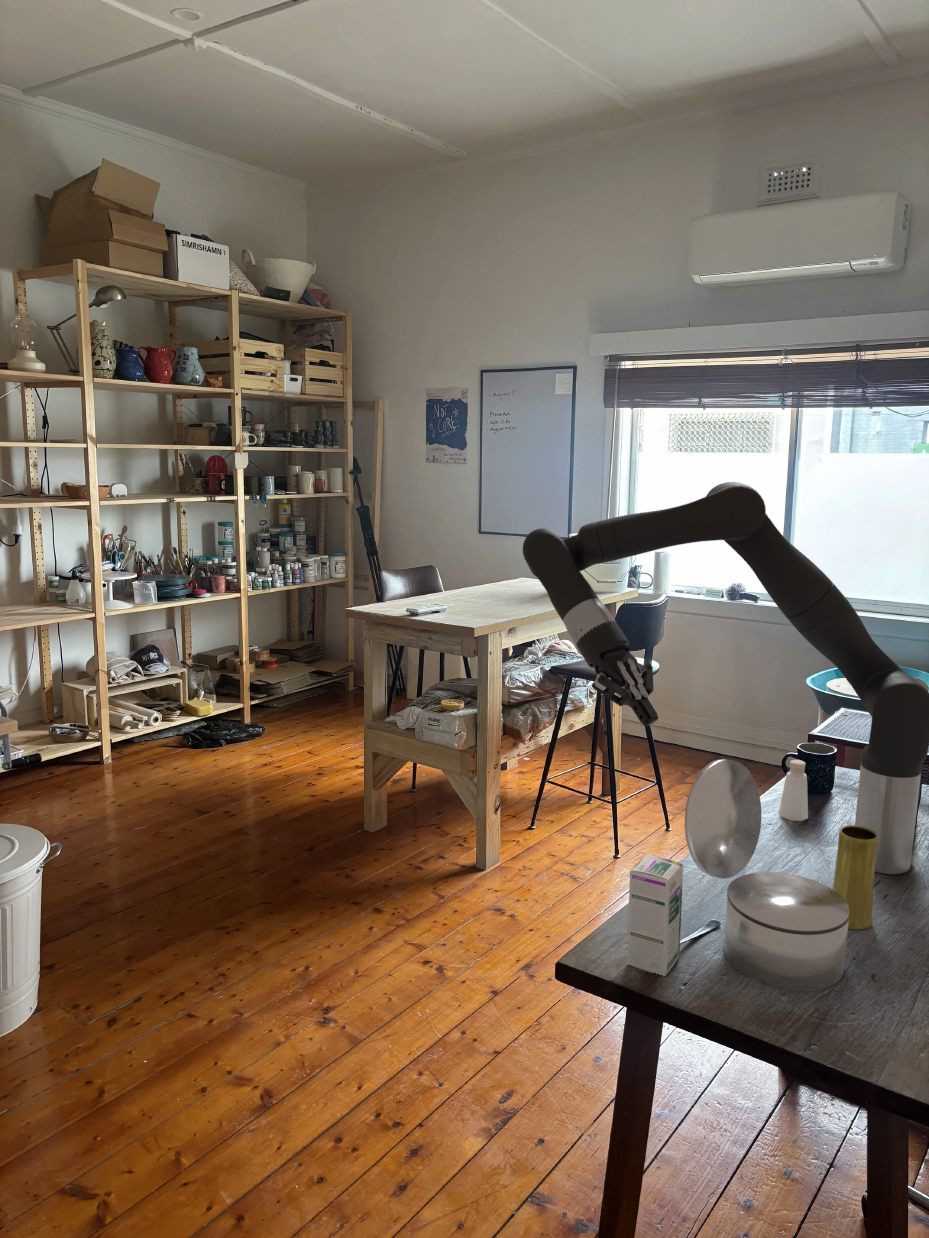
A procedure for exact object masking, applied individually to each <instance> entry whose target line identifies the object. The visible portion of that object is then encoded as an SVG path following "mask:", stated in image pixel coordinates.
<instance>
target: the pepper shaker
mask: <svg viewBox="0 0 929 1238" xmlns="http://www.w3.org/2000/svg"><path fill="white" fill-rule="evenodd" d="M805 770H806V762H805V761H803V760H800V759H791V760H790V761H789V771H788V772H786V775H785V779H784V785H783V790H782V796H781V800H780V805H779V810H778V812H779V815H780V816H779V817H781V818H783V819H786V820H788V821H791V822H792V821H794V822H795V821H796V822H803V821H806V820H808V818H809V811H808V810H809V809H808V808H809V806H808V805H809V804H808V802H809V799H808V776H807V773H805Z"/></svg>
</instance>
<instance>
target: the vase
mask: <svg viewBox="0 0 929 1238" xmlns="http://www.w3.org/2000/svg"><path fill="white" fill-rule="evenodd" d="M877 841H878V835H877V834H876V833H875V832H874V831H872V830H870V829H868V828H865V827H862V826H855V824H854V825H852V824H850V825H844V826H841V827H840V829H839V832H838V843H837V850H836V858H835V865H834V873H833V874H834V875H833V876H834V877H833V883H832V889H833V890H834V891H836V892H837V893H838V894H840V895H841V896H842V897H843V898H844V899H845V901H846V902H847V903H848V905H849V908H850V917H849V922H848V930H853V931H854V930H855V931H858V930H859V931H860V930H865V929H868V928H870V927H871V926H872V924H873V903H874V902H873V901H874V898H873V897H874V884H875V873H876V872H875V861H876V851H877Z"/></svg>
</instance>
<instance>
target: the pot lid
mask: <svg viewBox="0 0 929 1238" xmlns="http://www.w3.org/2000/svg"><path fill="white" fill-rule="evenodd" d="M687 796H688V797H687V800H686V805H685V811H684V813H685V814H684V832H685V840H686V843H687V848H688V851H689V854H690V856H691V858H692V861H693V863H695V865H696V867H698V869H699V870H700V871H701V872H702V873H704V874H706V875H707V876H708V877H709V876H710V877H713V878H717V879H722V880H723V879H730V878H733V877H735V876H737V875H738V874H740V873H741V872H742V871H744V869H745V868H746V867H747V865H748V864H749V863H750V861H751V860H752V857H753V856H754V854H755V851H756V849H757V846H758V842H759V838H760V835H761V827H762V801H761V796H760V793H759V789H758V786H757V782H756V781H755V778H754V776H753V774H752V772H750V771H749V770H748V768H747V767H745V765H743V764H742V763H741V762H739V761H736V760H733V759H725V758H723V759H722V758H721V759H716V760H713V761H711V762H709V763H708V764H707V765H705V766H704V767H703V768H702V769H701V770H700V771H699V773H698V774H697V776H696V777H695V779H694V781H693V783H692V784H691V788H690V790H689V792H688V795H687Z"/></svg>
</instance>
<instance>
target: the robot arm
mask: <svg viewBox="0 0 929 1238" xmlns="http://www.w3.org/2000/svg"><path fill="white" fill-rule="evenodd" d="M766 511H767V509H766V504H765V500H764V498H763V497H762V495H761V494H760V493H759V492H758V491H757V490H756V489H755V488H753V487H752V486H750V485H748V484H744V483H742V482H739V481H728V482H727V481H726V482H722V483H720V484H717V485H715V486H714V487H712V488H711V489H710V490H709V491H708V492H707V493H706V495H705V496H703V497H701V498H699V499H696V500H694V501H692V502H691V501H690V502H689V503H685V504H681V505H677V506H674V507H669V508H664V509H659V510H651V511H645V512H644V511H643V512H637V513H631V514H625V515H620V516H616V517H611V518H606V519H603V520H599V521H593V522H590V523H587V524H584V525H582V526H581V527H580V528H579V530H578V533H577V534H575V535H572V536H570V537H567V538H563V539H562V537H561V536H560V535H559V534H558V533H557V532H556V531H554V530H552V529H549V528H546V527H545V528H543V527H542V528H537V529H534V530H532V531H531V532H530V533H528V534H527V536H525V539H524V541H523V544H522V556H523V557H524V558H523V559H524V560H525V562H526V564H527V566H528V569H529V570H530V572H531V574H532V575H533V576H534V577H536V578H537V580H539V582H540V584H541V585H542V587H543V588H544V589H545V591H546V593H547V596H548V598H549V600H550V602H551V604H552V606H553V608H554V610H555V611H556V613H557V615H558V617H560V619H561V621H562V622H563V624H564V627H565V628H566V631H567V633H568V635H569V637H570V639H571V640H572V641H573V643H574V645H575V646H576V648H577V650H578V651H579V653H580V655H581V656H582V658H583V660H584V661H585V662H586V664H587V666H588V667H589V668H591V669H594V672H595V675H596V678H595V680H594V682H592V683H591V688H592V689H593V690H595V691H596V692H598V693H599V694H601V695H602V696H604V697H606V698H607V699H609V700H610V701H611V702H613V703H615V704H616V705H617V706H619V707H623V706H624V705H625V706H627V707H628V708H631V709H632V711H633V712H634V714H635V715H636V717H637V719H638V720H639V722H640V723H641V724H642V725H643V726H644V727H648V726H651V725H653V724H654V723H655V722H657V721H658V720H659V716H658V712H657V711H656V709H655V708H654V705H652V703H651V701H650V700H649V696H650V695H651V694H653V692H654V667H653V665H652V664H651V663H648V662H647V663H646V664H645V665H644V664H641V663H639V662H638V660H637V657H635V656H634V655H633V654H632V653H631V652H630V650H629V647H630V642H629V640H628V639H627V637H626V635H625V634H624V632H623V631H622V629H621V628H620V626H619V624H618V623H617V622H616V620H615V618H614V617H613V615H612V614H611V612H610V611H609V609H608V608H607V607H606V605H604V603H603V602H602V601H601V600H600V598H599V597H598V594H597V593H596V592H595V590H594V589H593V587H592V585H591V584H590V583H589V581H588V580H587V578H585V576H584V575H583V574H582V571H585V570H586V569H588V568H590V567H592V566H594V565H599V564H604V563H608V562H609V563H610V562H613V561H618V560H622V559H627V558H630V557H635V556H637V555H642V554H645V553H649V552H653V551H657V550H662V549H666V548H669V547H676V546H681V545H686V544H692V543H701V542H711V541H712V542H713V541H724V543H726V544H727V545H728V546H729V547H730V548H731V549H732V550H734V551H735V553H737V555H739V556H740V557H741V558H742V560H744V562H745V563H746V564H747V565H748V566H749V568H750V569H751V571H753V573H754V575H755V576H756V578H757V579H758V580H759V582H760V583H761V585H762V587H763V588H764V589H765V591H766V592H767V594H768V595H769V597H770V599H772V601H773V602H774V603H775V605H776V606H777V608H778V609H779V610H780V612H781V613H782V614H783V615H784V617H786V619H787V620H788V621H789V622H790V623H791V625H792V626H793V627H794V628H795V629H796V630H797V632H798V633H799V634H800V635H801V636H802V637H803V638H804V639H805V640H806V641H807V642H808V643H809V644H810V645H811V646H812V647H813V648H814V649H815V650H817V651H818V652H819V653H820V654H821V655H823V656H824V657H825V658H826V659H827V660H828V661H830V662H831V663H832V664H833V665H834V666H835V667H836V668H837V669H838V670H839V672H840V673H841V674H842V676H844V678H845V680H846V681H847V682H848V683H849V685H850V686H851V688H852V689H853V691H854V692H855V693H856V695H857V697H858V698H859V700H860V701H861V703H862V705H863V706H864V708H865V709H866V711H867V712H868V714H869V715H870V716H871V722H870V723H871V724H870V725H871V726H870V732H869V740H868V744H867V745H866V746H864V747H863V748H862V753H861V759H860V760H861V761H860V769H859V771H860V772H859V781H858V790H857V791H858V792H857V799H856V810H855V811H856V812H855V820H854V825H855V826H862V827H865V828H868V829H870V830H872V831H874V832H875V833H876V834H877V835H878V841H877V851H876V861H875V872H874V873H877V874H879V873H880V874H883V875H884V874H886V875H901V874H904V873H907V872H908V871H909V870H910V869H911V865H912V864H911V863H912V854H913V846H914V838H915V828H916V820H917V812H918V803H919V796H920V795H919V794H920V787H921V785H920V784H921V777H922V776H921V775H922V769H923V763H924V762H925V760H926V759H927V756H928V752H929V691H928V690H927V689H926V687H924V686H923V685H922V684H921V683H920V682H919V681H918V680H916V679H915V678H914V677H912V676H911V675H910V674H909V673H907V672H906V671H905V670H903V669H902V668H901V667H900V666H899V665H898V664H897V663H896V662H895V661H894V660H892V659H891V658H890V657H889V656H888V655H887V653H885V652H884V651H883V649H881V648H880V647H879V645H877V643H876V642H875V641H874V639H873V638H872V636H871V635H870V633H869V632H868V630H867V628H866V626H865V625H864V623H863V620H862V619H861V618H860V616H859V615H858V612H857V611H856V610H855V608H854V606H852V604H851V603H850V602H849V600H848V599H847V598H846V596H845V594H843V593H842V591H841V590H840V589H839V588H838V587H837V585H835V584H834V582H833V581H832V580H831V579H830V578H829V577H828V575H827V574H825V572H824V571H822V569H820V568H819V567H818V566H817V565H816V564H815V563H814V562H813V561H812V560H811V559H810V558H809V557H807V556H806V555H805V554H804V553H803V552H801V550H799V549H798V548H796V547H795V545H793V544H792V543H791V542H789V540H788V539H787V538H786V537H785V536H784V535H783V534H782V533H781V532H780V531H779V529H778V528H777V527H776V525H775V524H774V522H773V521H772V520H771V519H770V517H769V516H768V514H767V513H766Z"/></svg>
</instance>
